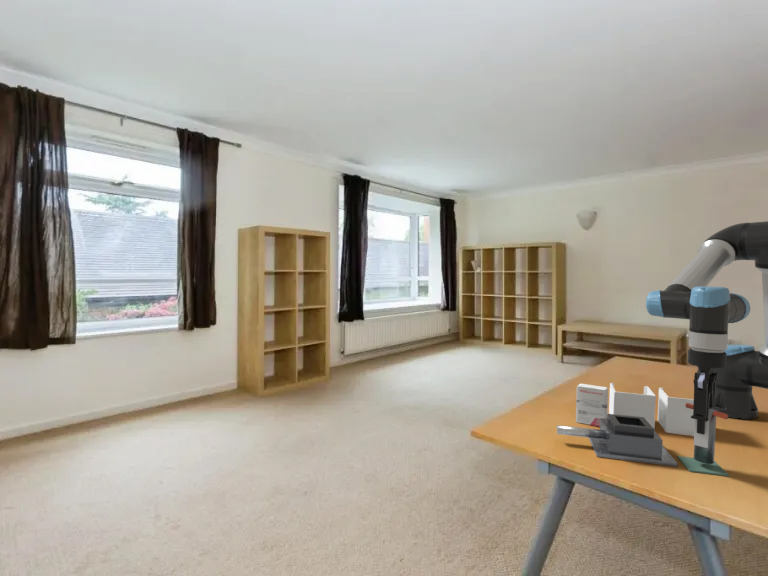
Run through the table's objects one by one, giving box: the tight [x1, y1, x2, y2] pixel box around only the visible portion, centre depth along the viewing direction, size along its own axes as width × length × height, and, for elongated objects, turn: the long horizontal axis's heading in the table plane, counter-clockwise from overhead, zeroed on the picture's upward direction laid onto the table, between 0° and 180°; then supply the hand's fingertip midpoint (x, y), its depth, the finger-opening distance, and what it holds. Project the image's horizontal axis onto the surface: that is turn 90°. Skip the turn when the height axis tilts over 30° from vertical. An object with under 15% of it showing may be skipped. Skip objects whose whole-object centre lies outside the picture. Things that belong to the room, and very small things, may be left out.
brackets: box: [608, 382, 695, 437], centre depth 132 cm, size 25×11×11 cm, turn 68°
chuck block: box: [556, 413, 678, 467], centre depth 115 cm, size 27×14×8 cm, turn 73°
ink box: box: [575, 383, 609, 428], centre depth 133 cm, size 9×5×12 cm, turn 55°
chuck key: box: [685, 403, 729, 464], centre depth 104 cm, size 4×9×13 cm, turn 22°
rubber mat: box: [676, 455, 730, 478], centre depth 105 cm, size 8×8×1 cm
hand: (702, 443), depth 104 cm, fingers closed on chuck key, 4 cm apart
